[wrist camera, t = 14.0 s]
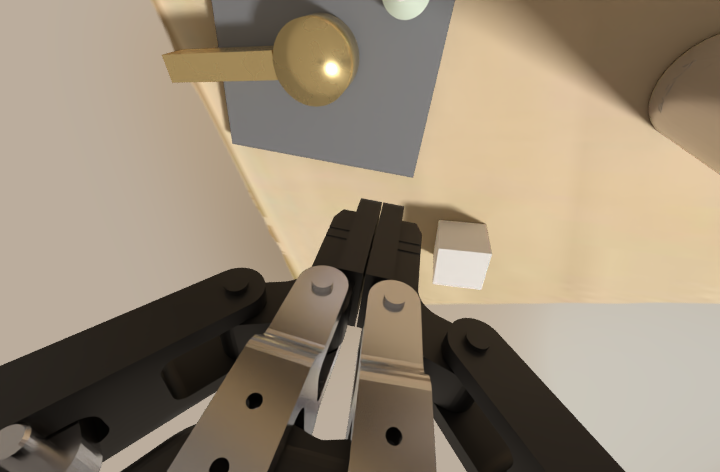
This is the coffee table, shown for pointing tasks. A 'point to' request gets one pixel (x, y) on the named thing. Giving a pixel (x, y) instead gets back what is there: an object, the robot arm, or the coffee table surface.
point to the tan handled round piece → (281, 60)
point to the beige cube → (461, 254)
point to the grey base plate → (362, 97)
